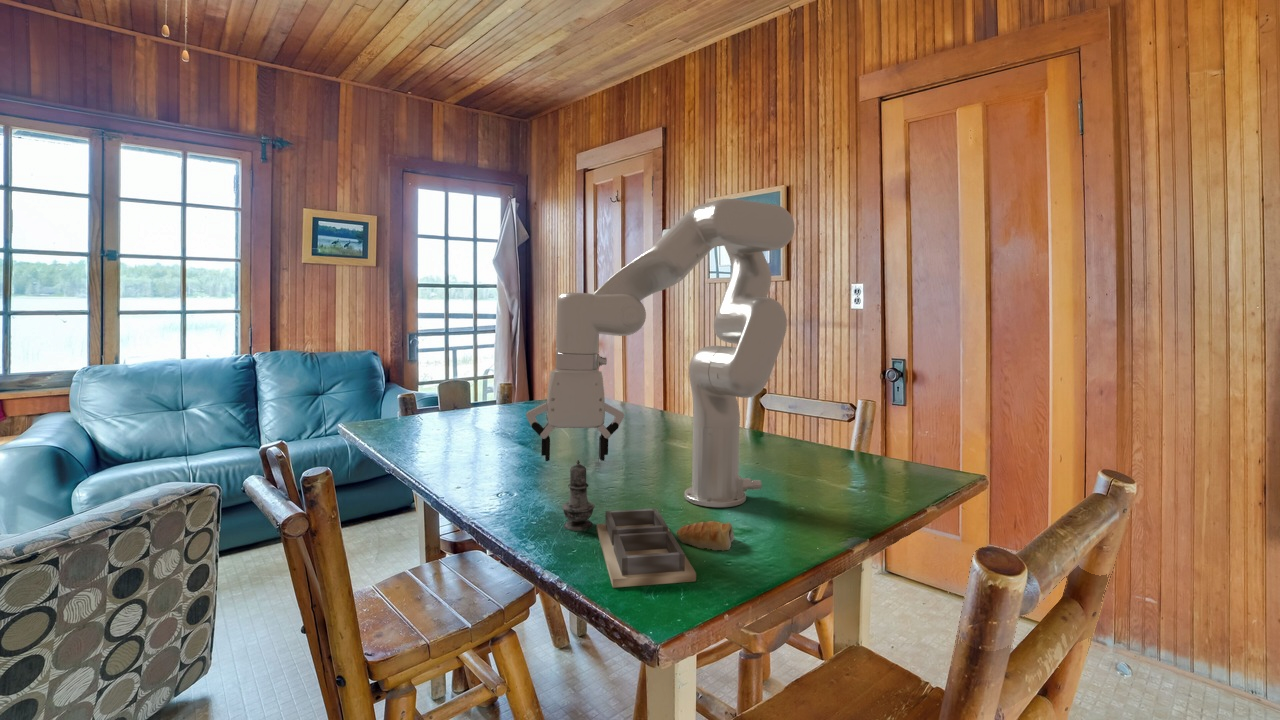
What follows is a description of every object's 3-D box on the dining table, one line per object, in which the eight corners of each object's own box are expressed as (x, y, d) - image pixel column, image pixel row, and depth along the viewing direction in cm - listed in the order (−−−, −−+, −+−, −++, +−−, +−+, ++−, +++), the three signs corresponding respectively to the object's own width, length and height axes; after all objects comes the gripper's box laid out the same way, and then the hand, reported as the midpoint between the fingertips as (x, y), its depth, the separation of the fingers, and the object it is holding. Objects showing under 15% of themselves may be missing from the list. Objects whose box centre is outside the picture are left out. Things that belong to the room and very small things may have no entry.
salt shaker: (589, 532, 102) (589, 465, 101) (557, 530, 104) (556, 463, 103) (598, 521, 108) (598, 456, 107) (568, 518, 109) (567, 455, 108)
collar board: (663, 526, 106) (663, 506, 105) (696, 581, 84) (696, 556, 84) (596, 530, 103) (596, 509, 103) (612, 587, 82) (612, 561, 82)
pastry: (673, 547, 97) (673, 525, 96) (681, 533, 103) (681, 512, 103) (730, 554, 94) (731, 530, 94) (734, 539, 101) (735, 517, 100)
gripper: (622, 362, 109) (619, 454, 110) (527, 361, 106) (525, 455, 107) (628, 366, 101) (625, 463, 102) (526, 364, 98) (524, 465, 99)
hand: (574, 459), depth 105 cm, fingers open, 9 cm apart
